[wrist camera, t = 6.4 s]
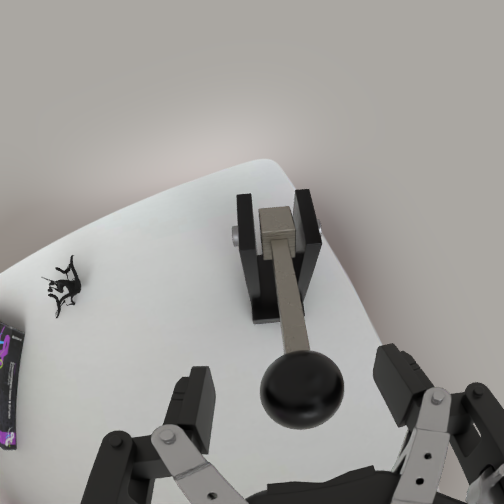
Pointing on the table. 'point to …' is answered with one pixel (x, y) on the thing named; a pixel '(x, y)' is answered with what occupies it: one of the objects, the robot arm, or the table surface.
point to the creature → (72, 286)
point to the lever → (294, 340)
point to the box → (9, 382)
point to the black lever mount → (261, 270)
